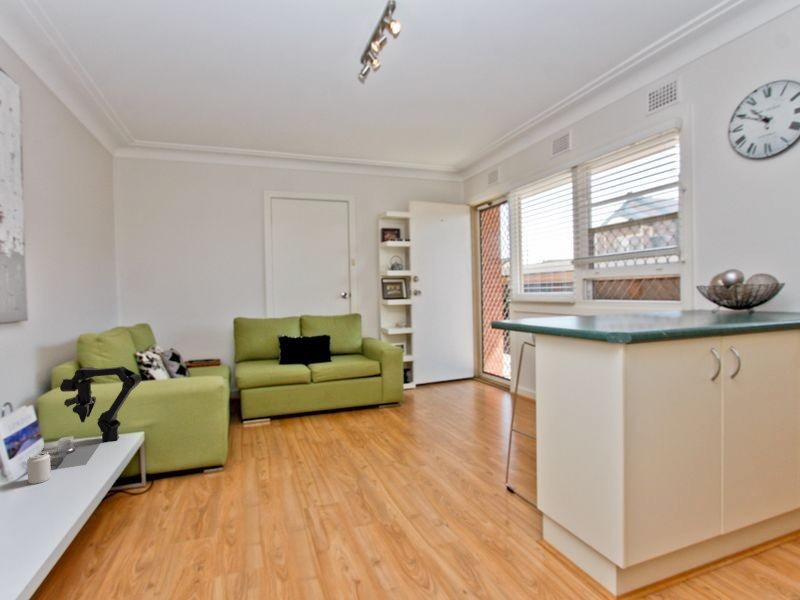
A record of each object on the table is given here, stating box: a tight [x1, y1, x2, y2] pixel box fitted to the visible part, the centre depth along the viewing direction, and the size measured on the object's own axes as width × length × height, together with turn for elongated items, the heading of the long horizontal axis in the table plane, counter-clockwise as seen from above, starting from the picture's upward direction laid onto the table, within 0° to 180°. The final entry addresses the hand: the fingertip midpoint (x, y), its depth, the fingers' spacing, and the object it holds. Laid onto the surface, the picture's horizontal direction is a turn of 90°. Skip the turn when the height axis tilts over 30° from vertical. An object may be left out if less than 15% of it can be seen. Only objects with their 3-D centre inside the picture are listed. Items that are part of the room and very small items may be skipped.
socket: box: [57, 435, 75, 451], centre depth 208 cm, size 5×5×5 cm
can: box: [26, 451, 52, 485], centre depth 179 cm, size 8×8×12 cm
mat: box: [50, 442, 102, 470], centre depth 203 cm, size 18×28×1 cm, turn 24°
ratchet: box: [50, 445, 76, 471], centre depth 200 cm, size 7×24×4 cm, turn 24°
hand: (85, 419), depth 222 cm, fingers open, 9 cm apart
